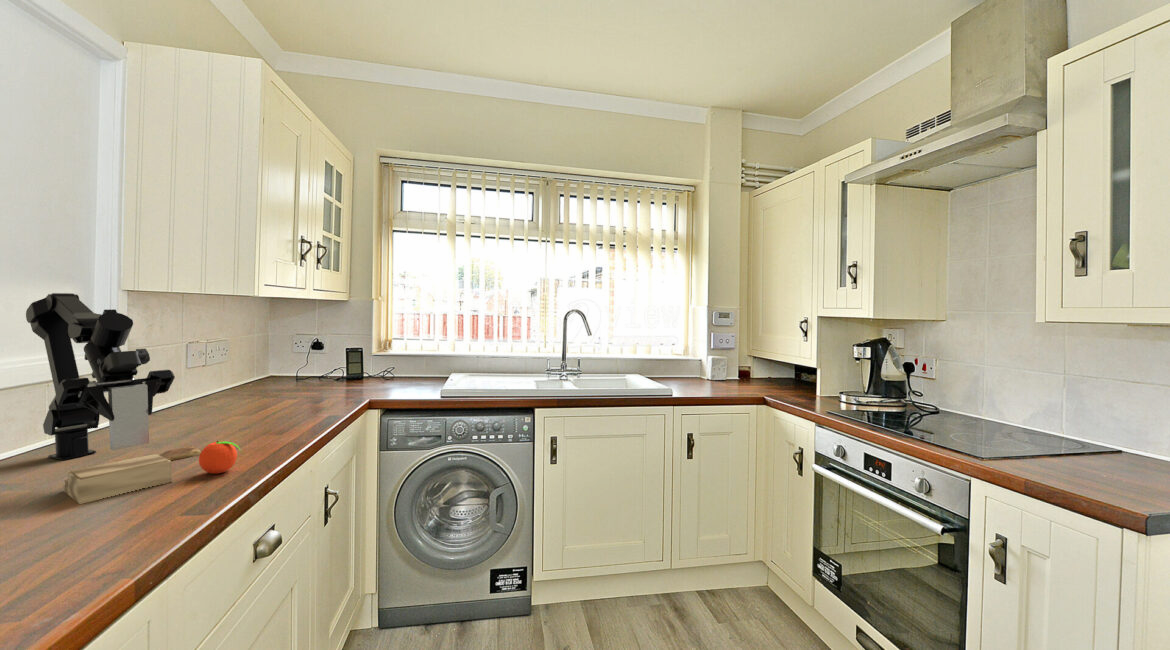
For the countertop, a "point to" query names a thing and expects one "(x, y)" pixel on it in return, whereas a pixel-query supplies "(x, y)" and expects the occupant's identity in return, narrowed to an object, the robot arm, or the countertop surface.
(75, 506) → the countertop surface
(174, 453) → the shard
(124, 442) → the cover plate
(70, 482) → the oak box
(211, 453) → the clementine
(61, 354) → the robot arm
